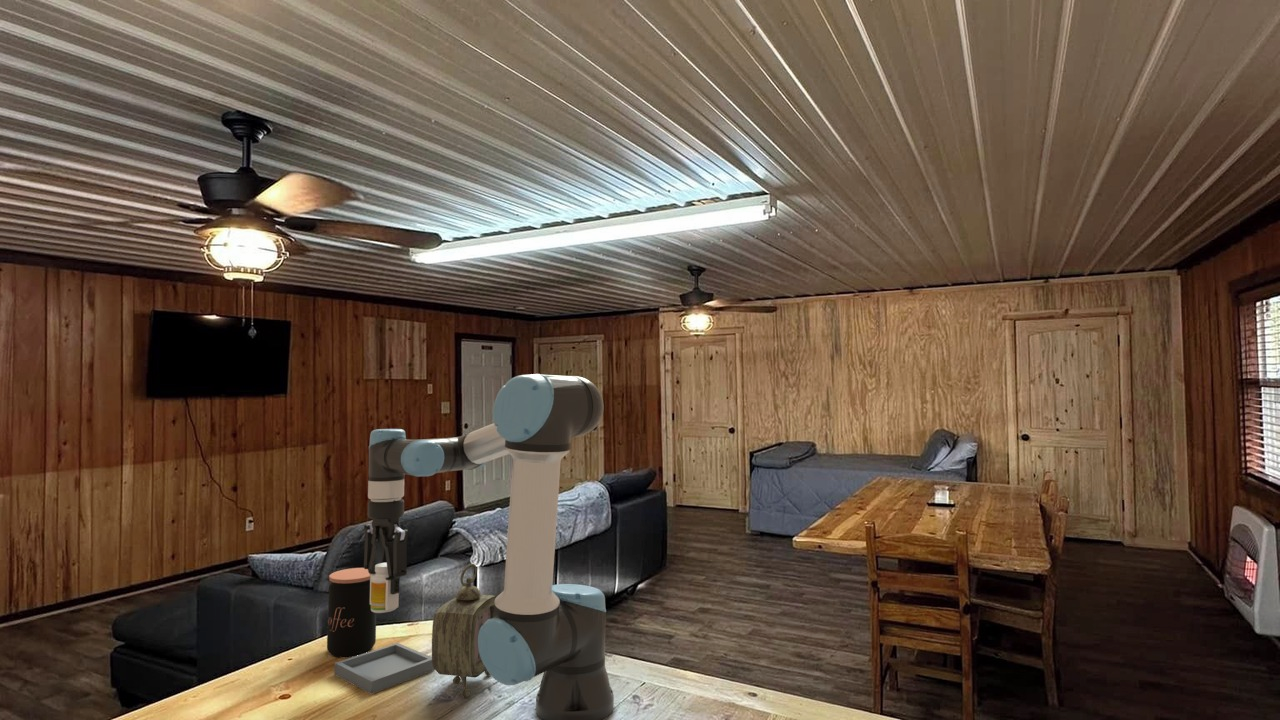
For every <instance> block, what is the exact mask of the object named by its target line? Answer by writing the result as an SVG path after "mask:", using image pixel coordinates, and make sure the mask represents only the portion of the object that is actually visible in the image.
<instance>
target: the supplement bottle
mask: <svg viewBox="0 0 1280 720" xmlns="http://www.w3.org/2000/svg"><path fill="white" fill-rule="evenodd" d="M375 572H376V574H375V575H374V576H373V577H372V580H371V611H372V612H375V613H376V614H382V613H383V614H384V613H389V612H393V611H395V610H396V609H397V608H394V609H391V610H385V599H386V578H387V577H388V569H387V562H382V563H379V564H376V565H375Z"/></svg>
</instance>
